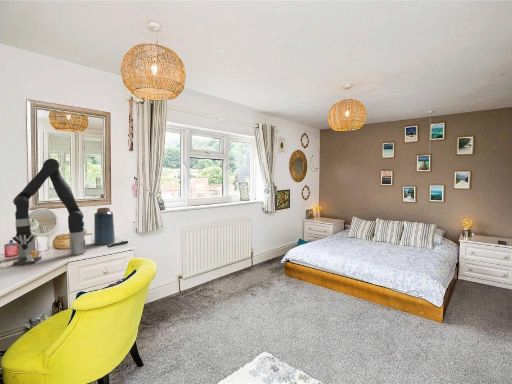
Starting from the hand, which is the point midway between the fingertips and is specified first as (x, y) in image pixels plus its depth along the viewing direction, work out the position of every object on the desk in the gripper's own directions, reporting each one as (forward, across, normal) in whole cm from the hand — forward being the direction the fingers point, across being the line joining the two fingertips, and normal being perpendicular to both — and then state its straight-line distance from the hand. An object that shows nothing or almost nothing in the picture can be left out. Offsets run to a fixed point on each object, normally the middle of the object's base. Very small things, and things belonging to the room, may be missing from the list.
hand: (25, 249), depth 185 cm
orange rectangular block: (+7, -5, +1) cm, 8 cm away
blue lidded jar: (+11, -40, -43) cm, 59 cm away
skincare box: (+9, +6, -17) cm, 20 cm away
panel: (+9, -1, 0) cm, 9 cm away
